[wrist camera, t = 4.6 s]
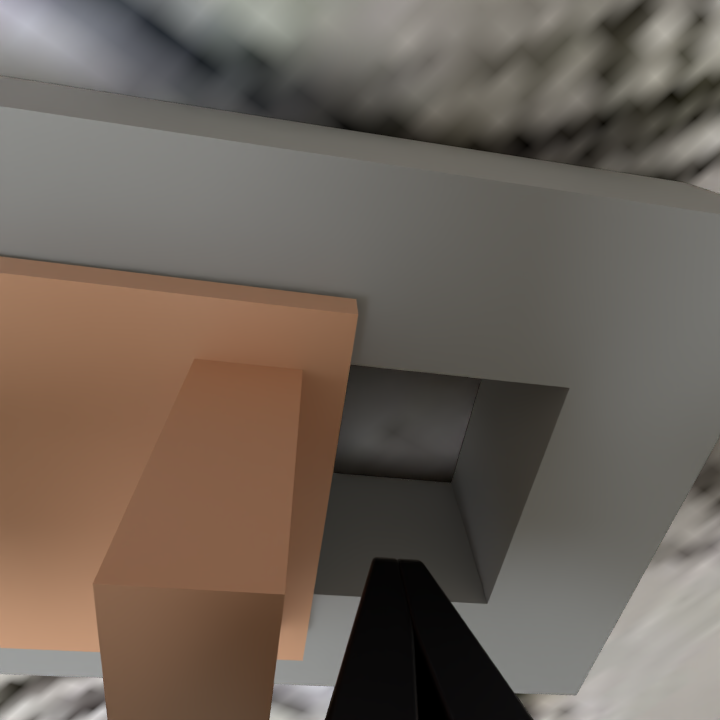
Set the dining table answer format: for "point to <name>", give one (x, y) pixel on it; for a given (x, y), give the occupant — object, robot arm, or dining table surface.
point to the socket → (424, 341)
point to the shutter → (166, 478)
